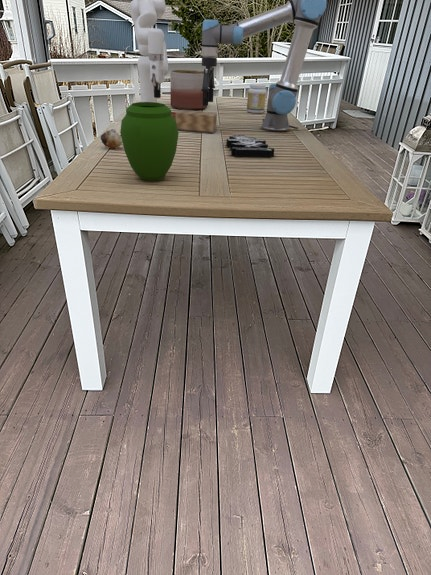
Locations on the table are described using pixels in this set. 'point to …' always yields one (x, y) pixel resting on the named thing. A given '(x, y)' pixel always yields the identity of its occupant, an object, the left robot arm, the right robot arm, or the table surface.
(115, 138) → the seashell
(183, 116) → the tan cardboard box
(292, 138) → the table surface
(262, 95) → the supplement tub
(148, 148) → the vase
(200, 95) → the planter
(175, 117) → the drawer
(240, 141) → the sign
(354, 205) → the table surface
